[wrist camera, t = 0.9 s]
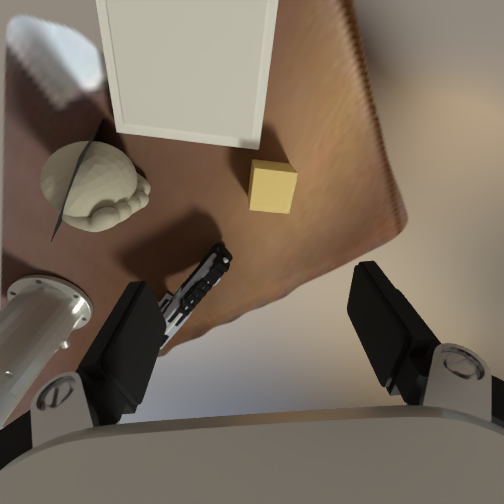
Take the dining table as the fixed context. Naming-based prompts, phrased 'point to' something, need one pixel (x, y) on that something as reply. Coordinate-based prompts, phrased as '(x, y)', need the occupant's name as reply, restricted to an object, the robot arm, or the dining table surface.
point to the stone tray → (189, 67)
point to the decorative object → (92, 185)
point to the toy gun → (193, 290)
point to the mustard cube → (271, 186)
